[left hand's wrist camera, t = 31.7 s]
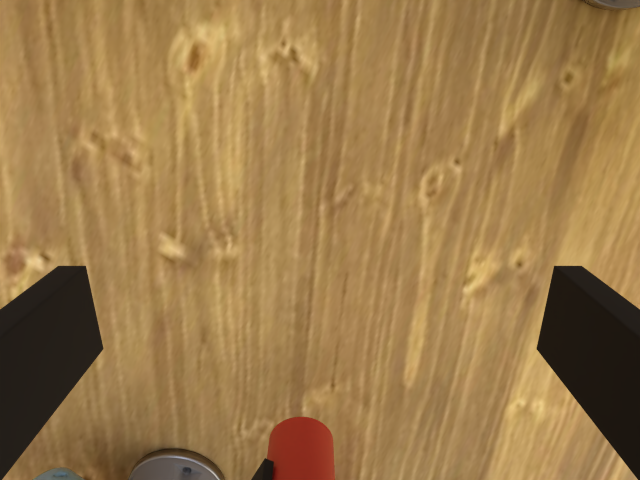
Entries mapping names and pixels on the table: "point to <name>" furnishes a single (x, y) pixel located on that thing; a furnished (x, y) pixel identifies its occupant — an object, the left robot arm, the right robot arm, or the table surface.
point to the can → (301, 450)
